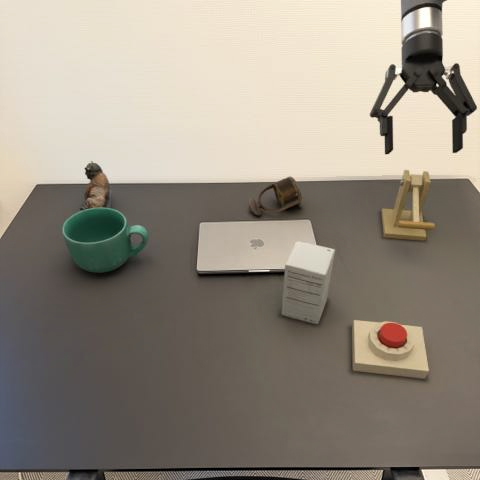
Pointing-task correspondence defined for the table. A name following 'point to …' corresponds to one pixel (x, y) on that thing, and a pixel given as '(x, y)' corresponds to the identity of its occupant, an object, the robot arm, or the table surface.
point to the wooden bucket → (279, 196)
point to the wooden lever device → (405, 211)
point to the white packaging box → (307, 281)
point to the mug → (101, 239)
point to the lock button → (392, 335)
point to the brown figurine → (96, 188)
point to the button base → (388, 351)
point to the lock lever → (415, 207)
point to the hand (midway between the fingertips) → (423, 151)
